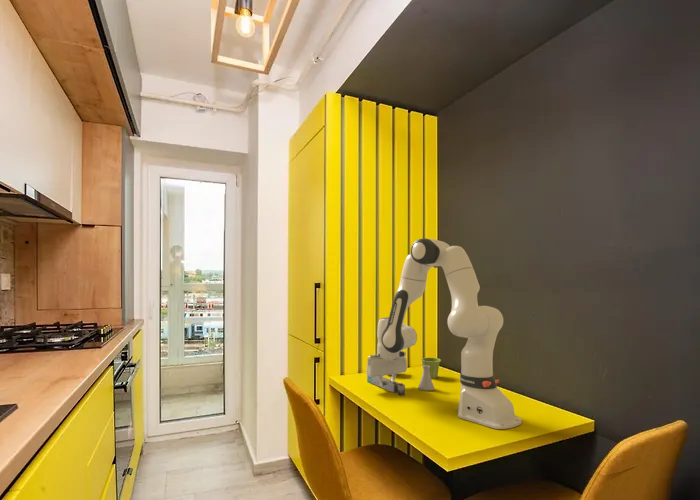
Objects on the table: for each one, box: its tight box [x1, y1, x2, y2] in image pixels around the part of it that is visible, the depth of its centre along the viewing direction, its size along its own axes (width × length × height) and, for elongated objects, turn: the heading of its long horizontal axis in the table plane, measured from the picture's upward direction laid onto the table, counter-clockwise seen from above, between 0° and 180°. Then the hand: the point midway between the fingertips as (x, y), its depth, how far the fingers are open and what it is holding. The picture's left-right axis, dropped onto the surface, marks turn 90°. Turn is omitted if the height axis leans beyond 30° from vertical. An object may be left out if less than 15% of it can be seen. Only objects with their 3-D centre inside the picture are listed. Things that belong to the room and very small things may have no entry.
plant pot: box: [421, 357, 442, 380], centre depth 194 cm, size 9×9×9 cm
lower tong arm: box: [382, 376, 401, 385], centre depth 177 cm, size 21×2×4 cm, turn 32°
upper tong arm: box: [366, 374, 397, 394], centre depth 176 cm, size 21×2×4 cm, turn 31°
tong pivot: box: [397, 382, 406, 397], centre depth 165 cm, size 3×3×5 cm
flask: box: [417, 365, 435, 392], centre depth 174 cm, size 7×7×10 cm
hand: (386, 384), depth 174 cm, fingers open, 4 cm apart
